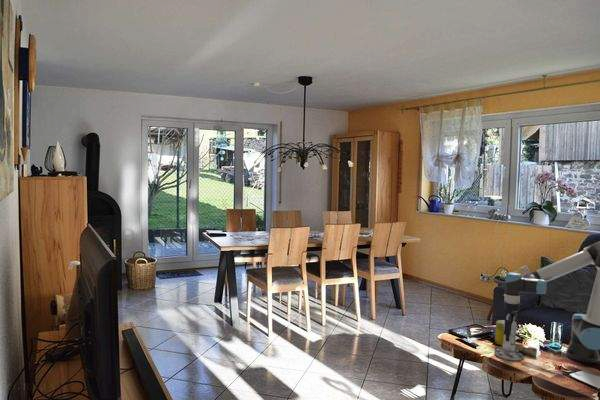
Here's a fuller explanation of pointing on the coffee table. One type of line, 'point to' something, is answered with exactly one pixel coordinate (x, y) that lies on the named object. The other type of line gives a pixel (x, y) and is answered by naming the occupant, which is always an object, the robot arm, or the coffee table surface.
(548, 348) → the coffee table surface
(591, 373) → the coffee table surface
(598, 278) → the robot arm
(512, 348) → the plastic bottle
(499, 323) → the yellow cylinder
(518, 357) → the flange
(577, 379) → the coffee table surface
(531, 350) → the grey rectangular block
